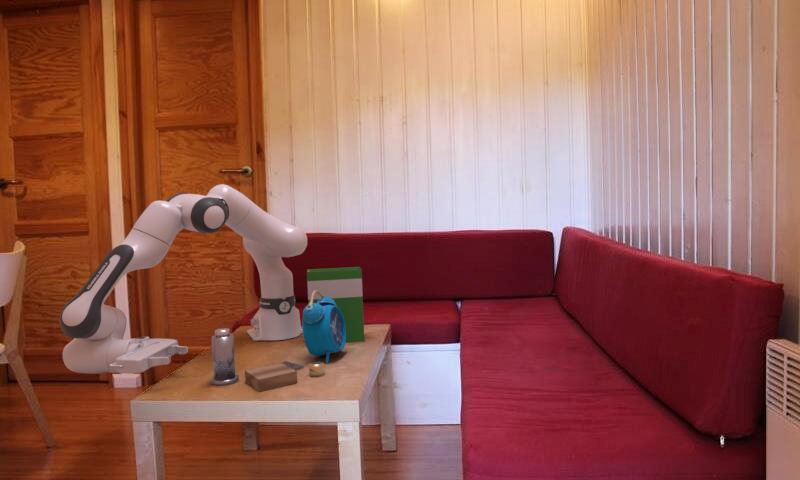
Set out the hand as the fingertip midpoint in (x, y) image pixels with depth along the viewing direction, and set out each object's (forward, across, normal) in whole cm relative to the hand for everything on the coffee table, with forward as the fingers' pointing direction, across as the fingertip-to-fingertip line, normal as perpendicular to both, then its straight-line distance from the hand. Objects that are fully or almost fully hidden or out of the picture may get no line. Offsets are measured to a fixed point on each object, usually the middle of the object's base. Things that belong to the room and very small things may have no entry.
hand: (178, 355), depth 141 cm
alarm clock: (+34, +22, +7) cm, 41 cm away
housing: (+12, 0, +7) cm, 14 cm away
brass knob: (+35, +5, +7) cm, 36 cm away
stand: (+25, -1, +7) cm, 26 cm away
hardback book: (+34, +41, +7) cm, 54 cm away
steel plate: (+25, +11, +8) cm, 29 cm away
